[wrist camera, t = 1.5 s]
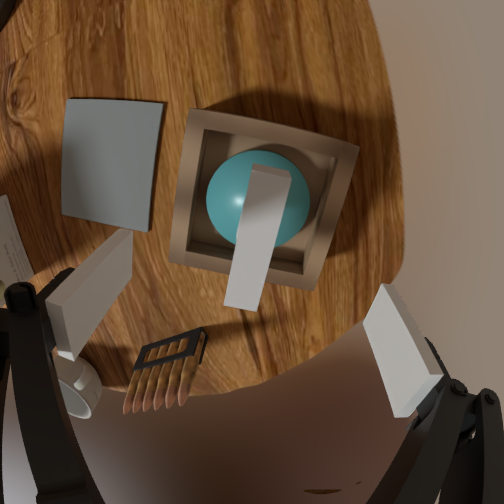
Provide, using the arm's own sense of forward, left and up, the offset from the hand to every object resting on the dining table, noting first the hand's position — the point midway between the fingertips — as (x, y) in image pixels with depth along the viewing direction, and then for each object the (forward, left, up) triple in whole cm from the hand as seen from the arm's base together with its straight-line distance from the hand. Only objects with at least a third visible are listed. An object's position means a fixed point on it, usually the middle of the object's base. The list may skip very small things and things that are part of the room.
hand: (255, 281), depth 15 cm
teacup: (+35, -23, -17) cm, 45 cm away
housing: (0, 0, -17) cm, 17 cm away
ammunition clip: (+23, -7, -17) cm, 29 cm away
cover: (0, 0, -14) cm, 14 cm away
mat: (0, -17, -17) cm, 24 cm away
